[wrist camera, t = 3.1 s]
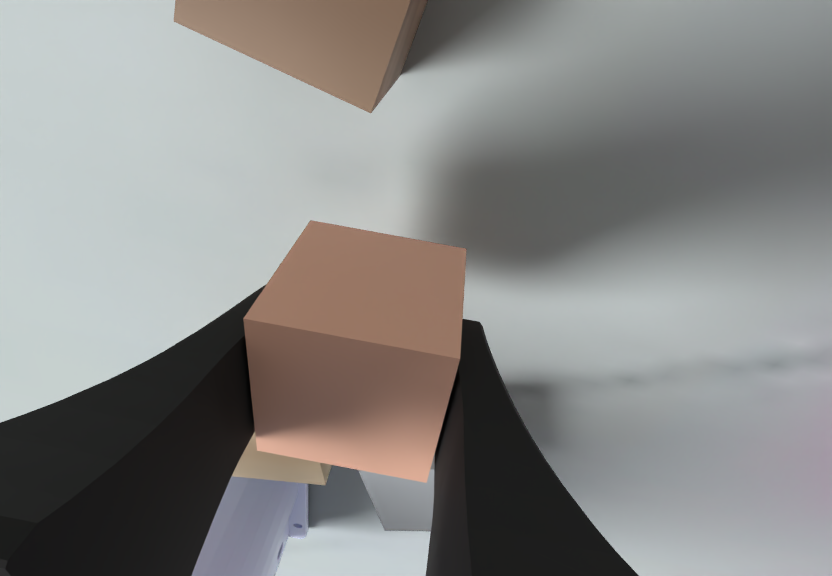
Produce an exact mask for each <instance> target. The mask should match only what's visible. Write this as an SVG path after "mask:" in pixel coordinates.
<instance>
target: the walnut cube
mask: <svg viewBox="0 0 832 576" xmlns="http://www.w3.org/2000/svg"><path fill="white" fill-rule="evenodd" d="M427 2H428V0H176V1H175V13H174V22H176V23H179V24H181V25H183V26H185V27H187V28H189V29H191V30H194V31H196V32H198V33H200V34H202V35H204V36H206V37H209V38H211V39H213V40H215V41H217V42H219V43H221V44H224V45H226V46H228V47H230V48H232V49H234V50H236V51H239V52H241V53H243V54H245V55H247V56H249V57H251V58H254V59H256V60H258V61H260V62H262V63H264V64H266V65H269V66H271V67H273V68H275V69H277V70H279V71H281V72H284V73H286V74H288V75H290V76H292V77H294V78H296V79H299V80H301V81H303V82H305V83H307V84H309V85H311V86H314V87H316V88H318V89H320V90H322V91H324V92H326V93H329V94H331V95H333V96H335V97H337V98H339V99H341V100H344V101H346V102H348V103H350V104H352V105H354V106H356V107H359V108H361V109H363V110H365V111H367V112H369V113H372V111H373V110H374V109H375V107H376V106H377V105H378V104H379V102H380V101H381V100H382V98H383V97H384V96H385V94H386V93H387V92H388V91H389V89H390V88H391V87H392V85H393V84H394V83H395V81H396V80H397V79H398V78H399V76H400V75H401V72H402V69H403V67H404V64H405V61H406V59H407V56H408V53H409V50H410V48H411V45H412V42H413V40H414V37H415V34H416V32H417V29H418V26H419V23H420V21H421V18H422V15H423V13H424V10H425V7H426V5H427Z"/></svg>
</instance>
